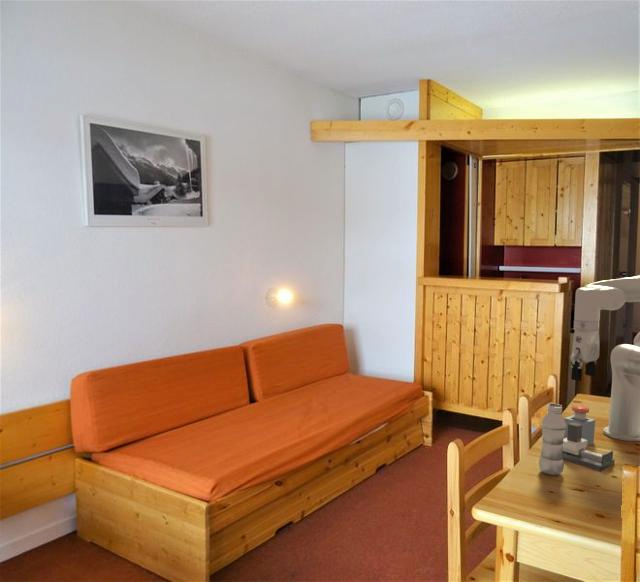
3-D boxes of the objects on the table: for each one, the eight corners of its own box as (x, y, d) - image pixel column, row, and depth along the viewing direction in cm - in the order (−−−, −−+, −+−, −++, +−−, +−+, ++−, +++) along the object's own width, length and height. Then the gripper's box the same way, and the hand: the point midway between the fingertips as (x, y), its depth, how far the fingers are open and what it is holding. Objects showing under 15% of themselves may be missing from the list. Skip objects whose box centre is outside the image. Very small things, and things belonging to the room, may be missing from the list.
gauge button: (575, 418, 201) (576, 404, 201) (591, 423, 197) (592, 408, 197) (568, 421, 198) (569, 407, 197) (583, 426, 194) (584, 410, 193)
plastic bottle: (565, 479, 168) (570, 409, 166) (539, 476, 169) (544, 407, 167) (560, 470, 174) (565, 403, 172) (536, 467, 175) (540, 401, 173)
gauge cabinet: (573, 437, 203) (574, 414, 202) (593, 443, 198) (595, 419, 197) (561, 441, 198) (563, 418, 197) (582, 448, 193) (584, 423, 192)
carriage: (571, 446, 189) (573, 420, 188) (586, 451, 185) (588, 424, 184) (559, 451, 184) (561, 424, 184) (575, 456, 181) (577, 428, 180)
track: (569, 450, 190) (570, 436, 190) (614, 464, 180) (615, 449, 179) (555, 456, 185) (556, 442, 184) (600, 471, 174) (601, 456, 174)
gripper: (585, 330, 185) (582, 384, 187) (610, 324, 197) (606, 375, 198) (562, 327, 191) (559, 379, 193) (587, 321, 202) (584, 371, 204)
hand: (583, 377), depth 196 cm, fingers open, 9 cm apart
